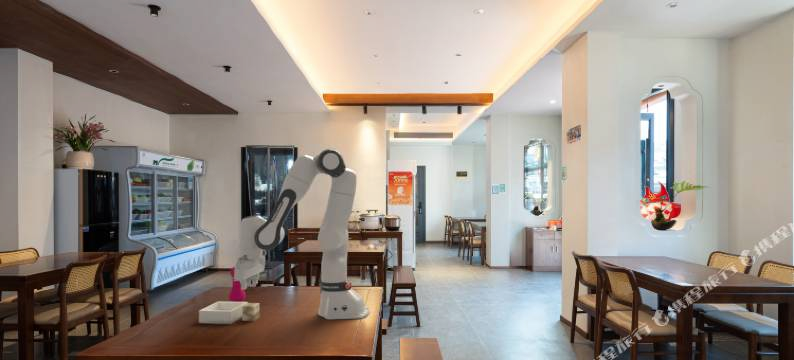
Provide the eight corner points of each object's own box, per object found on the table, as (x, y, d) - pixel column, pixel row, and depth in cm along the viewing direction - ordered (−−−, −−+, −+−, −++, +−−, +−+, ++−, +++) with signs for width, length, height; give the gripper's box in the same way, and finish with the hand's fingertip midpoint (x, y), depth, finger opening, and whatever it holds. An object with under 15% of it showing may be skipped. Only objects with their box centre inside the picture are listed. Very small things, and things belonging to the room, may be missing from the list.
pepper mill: (248, 303, 194) (248, 261, 195) (240, 308, 187) (240, 264, 187) (233, 303, 195) (233, 261, 195) (226, 307, 188) (225, 264, 188)
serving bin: (247, 313, 179) (247, 302, 179) (231, 323, 165) (231, 311, 165) (218, 312, 180) (218, 301, 180) (198, 322, 166) (198, 310, 167)
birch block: (259, 317, 173) (259, 303, 173) (253, 321, 168) (253, 306, 168) (248, 317, 174) (248, 302, 174) (242, 320, 169) (242, 306, 169)
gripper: (245, 258, 161) (244, 293, 161) (267, 250, 181) (267, 281, 181) (230, 257, 162) (229, 292, 161) (254, 250, 182) (253, 281, 182)
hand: (249, 286), depth 171 cm, fingers open, 8 cm apart
